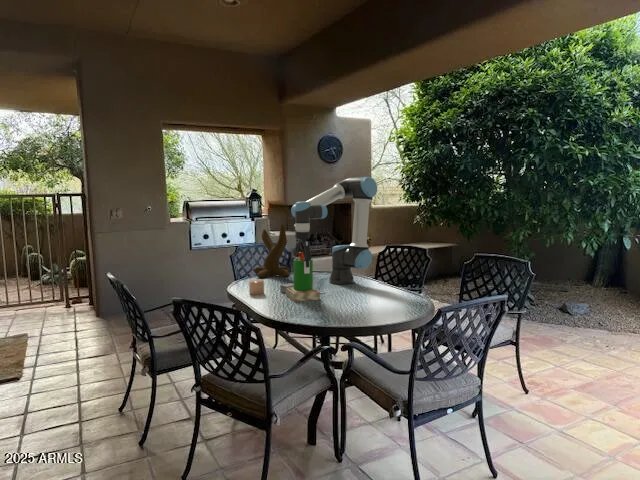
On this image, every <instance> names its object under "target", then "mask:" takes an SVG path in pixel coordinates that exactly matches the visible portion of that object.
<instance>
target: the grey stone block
mask: <svg viewBox="0 0 640 480" xmlns="http://www.w3.org/2000/svg"><path fill="white" fill-rule="evenodd" d="M289 287H294V283H291V282H290V283H286V284H280V293H283V294H286V288H289Z"/></svg>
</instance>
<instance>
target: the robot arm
mask: <svg viewBox="0 0 640 480" xmlns="http://www.w3.org/2000/svg"><path fill="white" fill-rule="evenodd" d="M377 193H378V184H377V182H376V180H375V179H374V178H373V177H369V176H352V177H347V178H345V179H344V180H341V181H339V182H337V183H335V184H333V187H331V188H329V189H327V190H326V191H323V192H321V193H320V194H317V195H316V196H314V197H312V198H310V199H308V200H306V201H296V202H295V204H293V205H292V207H291V209H290V213H291V215H292V216H293V217H294V221H295V222H294V223H295V224H294V227H295V228H294V229H295V232H294V233H295V235H294V237H295V239H296V240H295V241H296V242H295V243H296V244H295V247H294V256H295V259H298V261H300V257H298V253H299V252H303V255H304V274H307V273H310V260H312V256H311V248H310V241H308V240H309V239H310V235H311V234H310V229H311V226H310V224H311V223H310V222H311V221H310V220H319V219H320V220H323V219H326V217H327V216H328V208H327V206H328V205H329V204H331V203H333V202H335V201H337V200H338V199H339V200H342V199H344V198H349V197H352V200H353V202H354V211H353V212H354V213H353V223H352V225H353V227H352V236H351V237H352V239H351V243H350V244H341V245H335V246H332V251H331V264H332V265H331V267H332V268H331V269H332V270H331V272H330V276H329V283H330V284H333V285H349V284H350V285H351V284H353V283H354V281H355V280H354V279H355V278H354V275H353V273H352V268H353V269H357V270H365V269H367V268H368V267H369V266H370V265H371V263H372V261H373V253H372V252H371V251H370V248H369V247H370V246H369V245H368V244H367V243H368V242H367V240H368V231H369V230H368V228H369V214H370V213H369V212H370V203H371V202H373V198H374V197H375V196H376V195H377Z"/></svg>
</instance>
